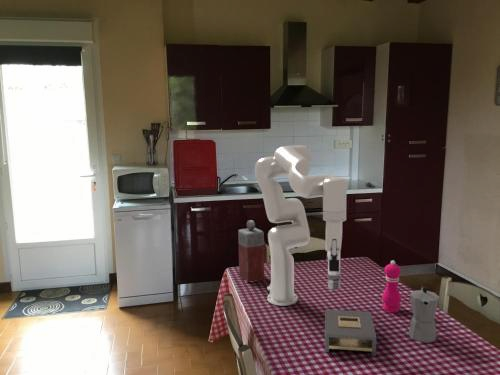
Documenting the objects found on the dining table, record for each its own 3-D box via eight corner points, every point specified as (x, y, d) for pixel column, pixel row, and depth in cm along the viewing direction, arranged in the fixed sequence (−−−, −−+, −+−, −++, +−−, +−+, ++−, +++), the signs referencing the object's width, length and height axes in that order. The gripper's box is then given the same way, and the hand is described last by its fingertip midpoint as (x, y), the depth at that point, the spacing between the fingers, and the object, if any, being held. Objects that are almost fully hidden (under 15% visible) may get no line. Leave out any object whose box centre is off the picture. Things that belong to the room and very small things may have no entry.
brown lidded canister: (268, 278, 208) (268, 220, 204) (247, 283, 203) (246, 223, 199) (259, 272, 216) (259, 216, 211) (239, 276, 211) (237, 219, 206)
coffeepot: (439, 347, 146) (442, 296, 143) (408, 343, 149) (411, 293, 146) (434, 326, 161) (437, 278, 158) (407, 322, 164) (409, 276, 161)
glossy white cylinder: (324, 287, 150) (324, 247, 148) (333, 284, 153) (334, 244, 150) (333, 290, 147) (334, 250, 145) (343, 287, 149) (343, 247, 147)
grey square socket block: (325, 326, 162) (325, 308, 161) (370, 328, 160) (370, 311, 159) (325, 352, 145) (325, 333, 144) (375, 356, 142) (376, 336, 141)
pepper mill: (401, 314, 171) (404, 264, 167) (382, 312, 172) (384, 263, 169) (399, 305, 178) (401, 257, 174) (380, 304, 179) (382, 257, 176)
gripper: (323, 209, 155) (323, 260, 158) (322, 221, 138) (321, 277, 141) (345, 210, 153) (345, 261, 156) (346, 221, 137) (346, 278, 140)
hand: (334, 268), depth 149 cm, fingers closed on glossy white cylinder, 4 cm apart
